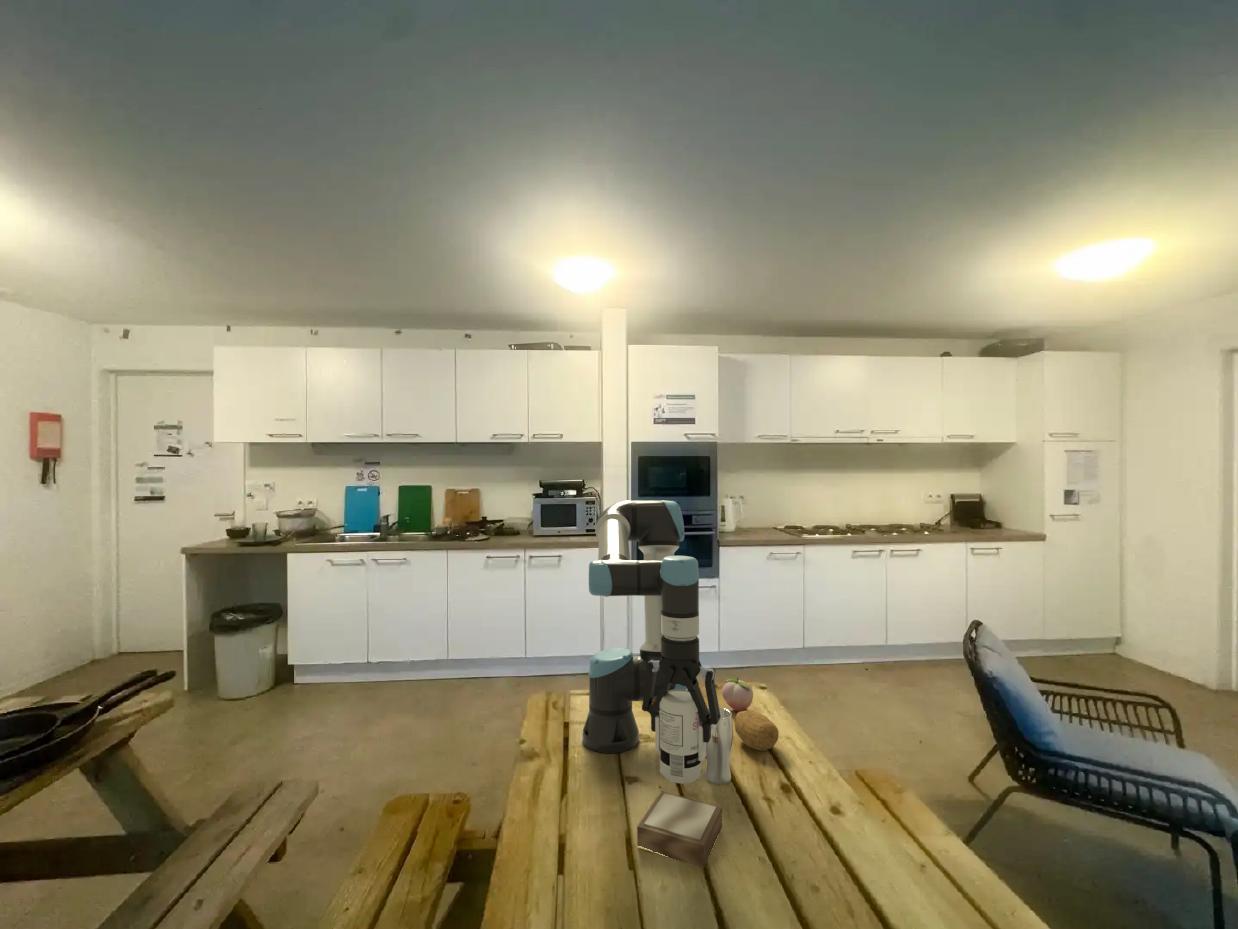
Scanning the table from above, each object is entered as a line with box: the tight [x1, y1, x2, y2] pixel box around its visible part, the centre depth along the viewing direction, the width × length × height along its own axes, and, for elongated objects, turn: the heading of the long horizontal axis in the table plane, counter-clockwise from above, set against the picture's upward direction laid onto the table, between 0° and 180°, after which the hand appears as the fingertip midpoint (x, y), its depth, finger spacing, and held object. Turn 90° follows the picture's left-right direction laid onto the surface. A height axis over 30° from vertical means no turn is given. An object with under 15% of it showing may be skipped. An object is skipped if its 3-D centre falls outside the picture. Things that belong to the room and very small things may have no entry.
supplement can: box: [659, 689, 703, 784], centre depth 106 cm, size 8×8×15 cm
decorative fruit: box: [721, 677, 754, 712], centre depth 164 cm, size 9×8×10 cm
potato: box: [734, 709, 780, 752], centre depth 142 cm, size 10×14×8 cm
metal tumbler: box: [704, 706, 734, 785], centre depth 127 cm, size 7×7×15 cm
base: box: [636, 790, 723, 869], centre depth 105 cm, size 13×13×4 cm
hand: (680, 752), depth 106 cm, fingers closed on supplement can, 8 cm apart
